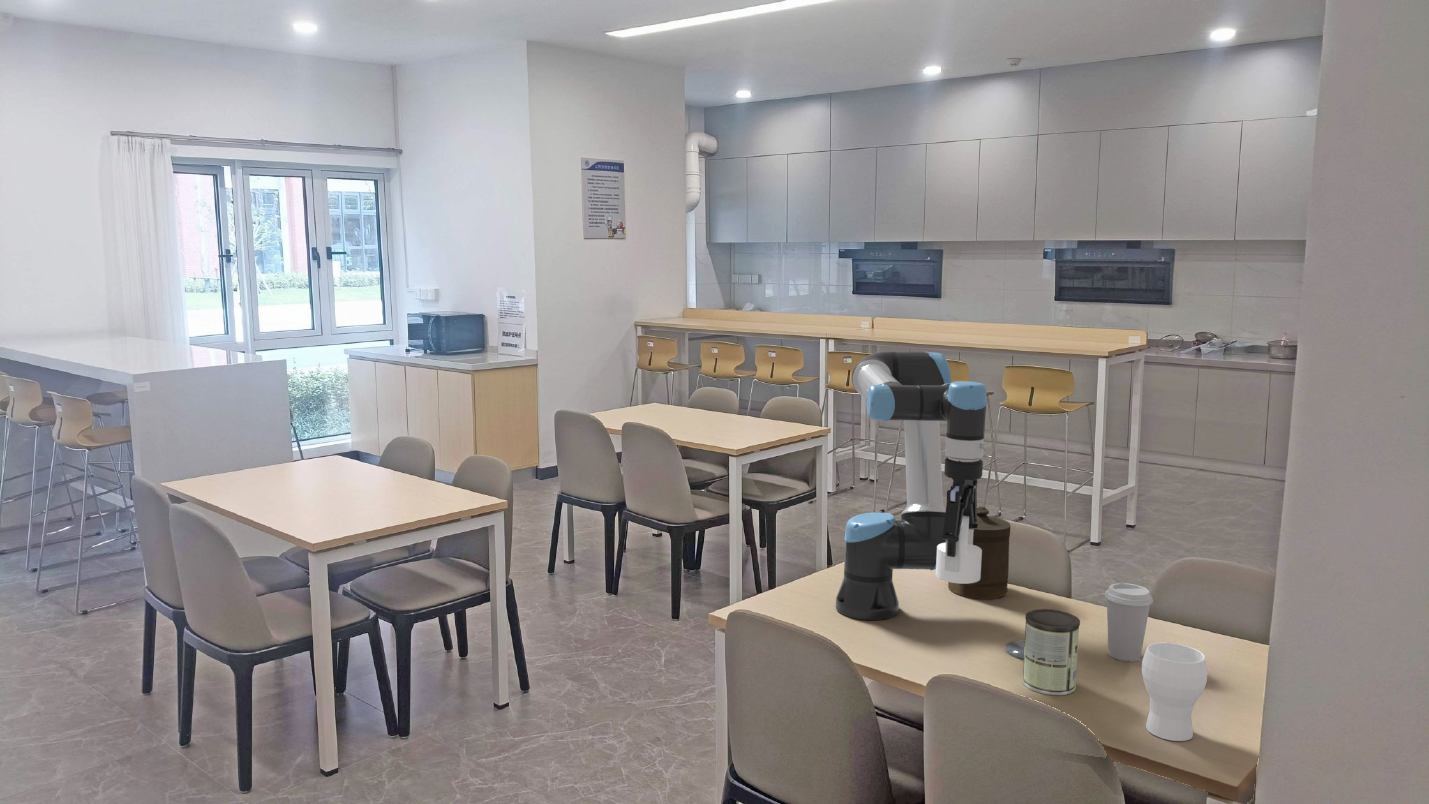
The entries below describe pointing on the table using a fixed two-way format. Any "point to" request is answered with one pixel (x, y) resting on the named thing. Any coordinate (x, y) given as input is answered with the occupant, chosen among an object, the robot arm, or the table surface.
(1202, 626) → the table surface
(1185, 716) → the cup
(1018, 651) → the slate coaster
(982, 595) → the wooden container
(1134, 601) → the coffee cup
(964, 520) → the base with upright slab
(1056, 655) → the coffee can
